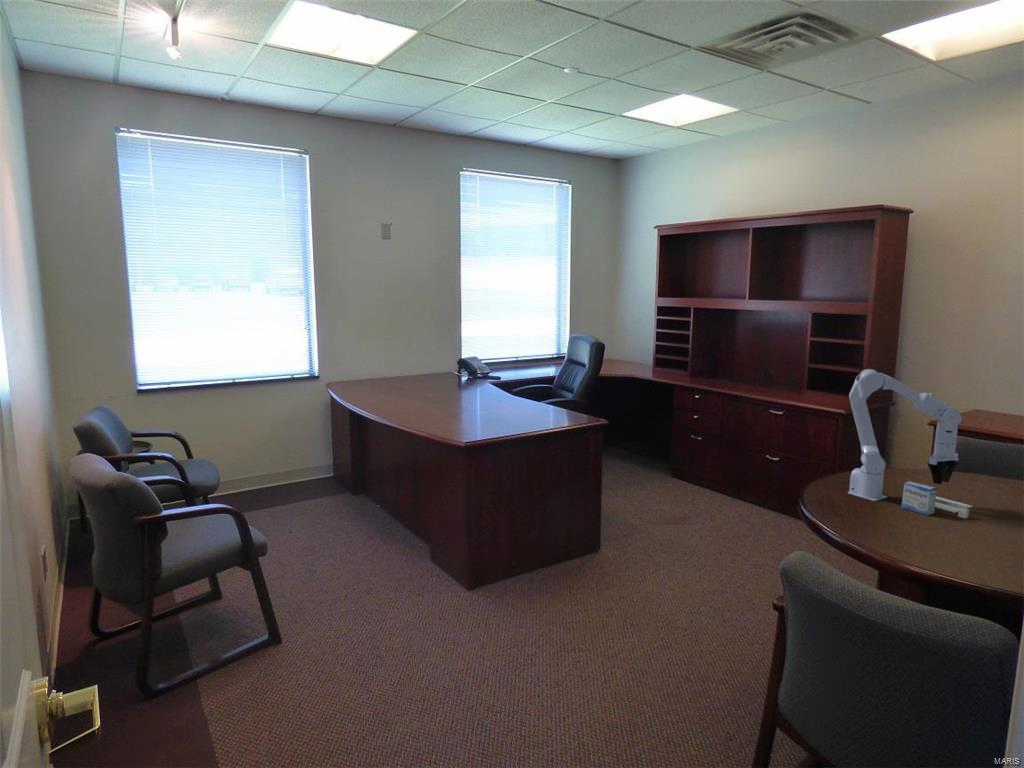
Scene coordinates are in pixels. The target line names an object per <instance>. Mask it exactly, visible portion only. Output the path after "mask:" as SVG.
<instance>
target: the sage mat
mask: <svg viewBox="0 0 1024 768" xmlns="http://www.w3.org/2000/svg"><path fill="white" fill-rule="evenodd" d="M936 498H937V499H941V500H944V501H948V502H952V503H956V504H960V505H963V506H967V507H969V509H971V508H973V507H974V505H970V504H966V503H964V502H959V501H956V500H955V501H954V500H951V499H948V498H944V497H940V496H937V495H936ZM935 509H938V510H941V511H946V512H948V513H953V514H957V513H958V511H959V508H955V507H952V506H948V505H944V504H941V503H937V502H935Z"/></svg>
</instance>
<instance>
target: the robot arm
mask: <svg viewBox="0 0 1024 768" xmlns="http://www.w3.org/2000/svg"><path fill="white" fill-rule="evenodd" d="M879 389H881V390H892V391H894V392H896V393H897V394H900V395H901V396H902V397H905V398H906V399H908V400H910V401H913V405H914V407H915V408H916V409H918V410H920V411H922V412H923V413H925V414H927V415H928V416H930V417H932V418H935V419H936V420H937V423H936V429H935V436H934V437H935V438H934V444H933V445H934V447H933V454H932V455H931V456H930V457H928V461H927V466H928V468H929V470H930V472H931V473H930V474H931V476H932V477H931V478H932V483H933V484H935V485H942V483H943V482H945V483H949V482H950V479H951V478H952V475H953V473H954V471H955V469H956V468H957V467H958V465H959V453H957V452H956V450H957V449H956V446H957V441H958V440H957V438H958V427H959V424H960V423H962V422H961V421H962V420H963V417H962V415H961V412H960V411H959V410H958V409H956V408H955V407H953V406H952V405H950V403H948V402H946V401H945V402H944V401H942V400H941V399H940V398H939V399H938V398H937V397H936V395H935V394H933V393H932V392H929V393H928V392H922V393H919V392H917V391H916V390H914V389H912V388H911V387H909V386H908V385H906V384H904V383H903V382H900V381H899V380H897V379H895V378H894V377H891V376H890V375H887V374H884V373H883V372H878V371H877V370H875V369H872V368H867V369H863V370H862V371H861V372H860V373H858V374H857V376H856V377H855V380H854V383H853V384H852V387H851V389H850V392H849V394H848V398H849V402H850V406H851V407H850V408H851V411H852V415H853V419H854V422H855V423H854V424H855V426H856V429H857V434H858V438H859V443H860V449H861V455H860V461H861V463H862V465H861V467H857V468H856V467H855V468H854V469H853V470H852V471H851V473H850V477H849V478H850V479H849V490H848V491H847V494H850V495H852V496H855V497H857V498H858V497H859V498H862V499H865V500H870V501H872V502H876V501H880V500H884V499H887V498H888V495H884V494H883V486H884V477H885V468H886V465H887V463H886V461H885V460H884V458H883V457H882V455H881V453H880V451H879V447H878V444H877V441H876V437H875V433H874V428H873V425H872V420H871V416H870V412H869V409H868V408H869V407H868V405H867V399H868V398H869V397H870V396H871V394H872V393H874V392H876V391H878V390H879Z"/></svg>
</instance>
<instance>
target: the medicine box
mask: <svg viewBox="0 0 1024 768" xmlns="http://www.w3.org/2000/svg"><path fill="white" fill-rule="evenodd" d="M937 491H938V487H935V486H931V485H927V484H923V483H919V482H914V481H906V482H904V484H903V492H902V500H901V501H902V502H901V508H902V509H903V510H907V511H909V512H914V513H916V514H921V515H925V516H931V515H932V514H935V509H936V508H935V501H936V496H937Z"/></svg>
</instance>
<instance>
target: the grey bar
mask: <svg viewBox="0 0 1024 768" xmlns="http://www.w3.org/2000/svg"><path fill="white" fill-rule="evenodd" d="M935 502H937V503H941V504H944V505H948V506H952V507H955V508H959V509H963V510H970V508H969V507H967V506H963V505H960V504H956V503H952V502H948V501H944V500H941V499H937V498H936V501H935Z"/></svg>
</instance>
